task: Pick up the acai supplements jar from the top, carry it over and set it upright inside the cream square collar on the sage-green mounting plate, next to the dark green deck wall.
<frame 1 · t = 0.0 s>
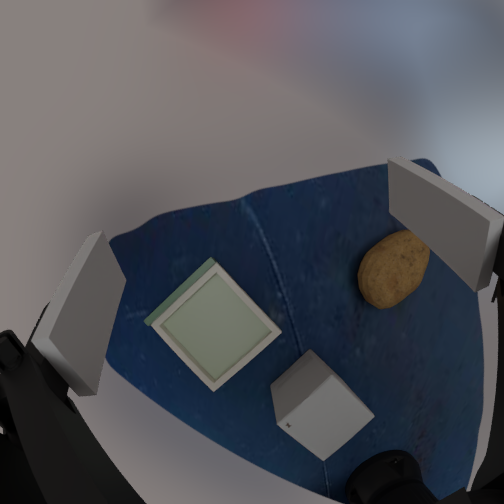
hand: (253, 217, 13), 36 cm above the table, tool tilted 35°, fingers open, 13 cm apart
potato: (384, 268, 49), on the table
supplement box: (308, 383, 48), on the table
chute collar: (216, 326, 48), on the table
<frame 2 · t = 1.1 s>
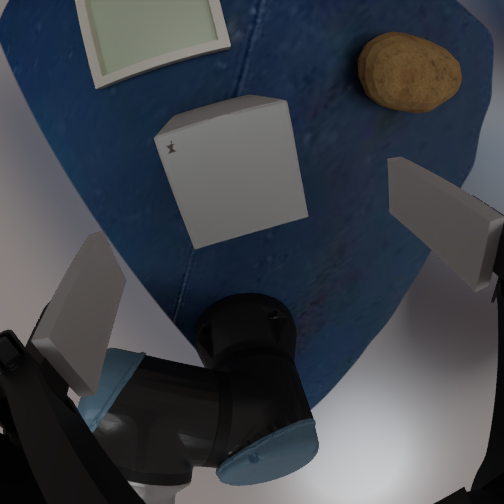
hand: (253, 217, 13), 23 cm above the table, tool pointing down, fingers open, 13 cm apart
potato: (391, 71, 31), on the table
supplement box: (222, 140, 34), on the table
chute collar: (150, 11, 25), on the table
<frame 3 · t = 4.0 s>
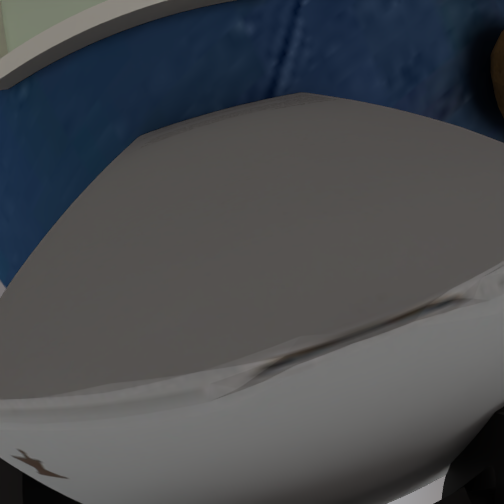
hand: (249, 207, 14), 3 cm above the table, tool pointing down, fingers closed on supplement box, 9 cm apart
supplement box: (242, 188, 17), on the table, touching gripper
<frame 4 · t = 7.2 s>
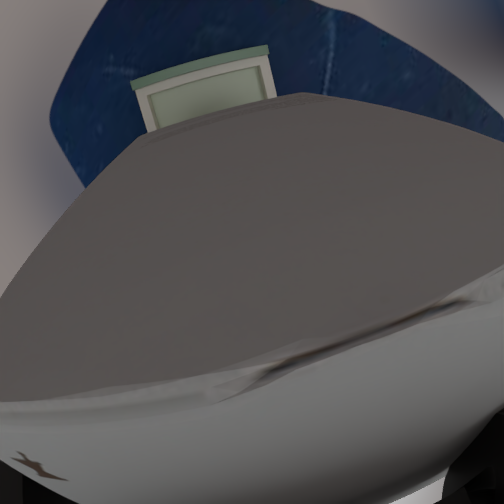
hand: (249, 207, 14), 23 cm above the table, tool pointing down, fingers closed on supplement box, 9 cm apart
supplement box: (243, 188, 17), point 20 cm above the table, touching gripper
chute collar: (216, 128, 34), on the table
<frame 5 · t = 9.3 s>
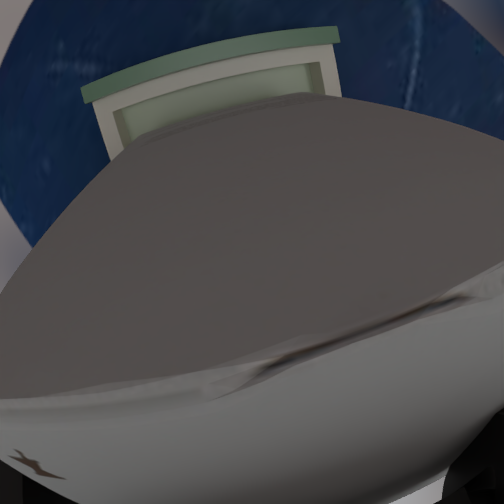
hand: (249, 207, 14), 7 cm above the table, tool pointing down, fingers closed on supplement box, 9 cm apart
supplement box: (242, 187, 17), point 5 cm above the table, touching gripper
chute collar: (235, 166, 21), on the table
when the fingers open (5 cm above the table, at t = 10.7 s): supplement box drops 1 cm, resting on chute collar.
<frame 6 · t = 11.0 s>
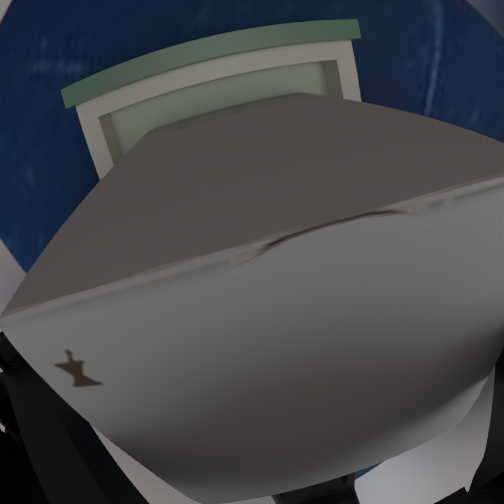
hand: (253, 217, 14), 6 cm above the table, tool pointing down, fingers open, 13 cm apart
supplement box: (244, 179, 18), point 1 cm above the table, touching chute collar
chute collar: (239, 177, 19), on the table
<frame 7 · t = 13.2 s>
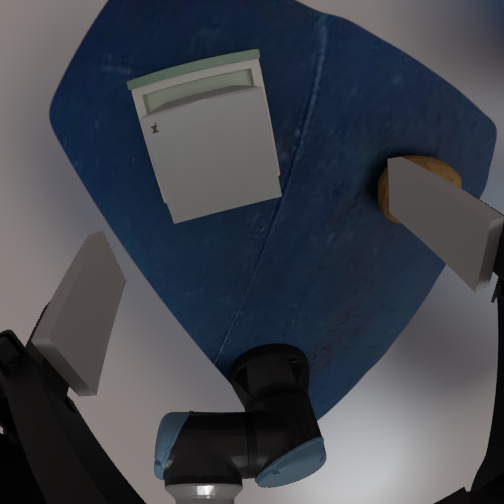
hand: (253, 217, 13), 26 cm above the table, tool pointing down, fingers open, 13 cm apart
potato: (403, 178, 42), on the table
supplement box: (210, 128, 35), point 1 cm above the table, touching chute collar
chute collar: (207, 127, 35), on the table
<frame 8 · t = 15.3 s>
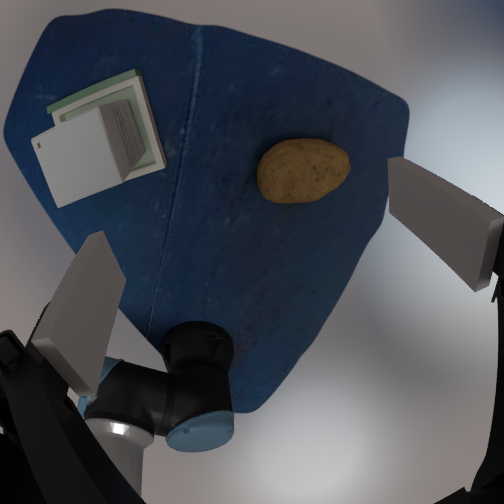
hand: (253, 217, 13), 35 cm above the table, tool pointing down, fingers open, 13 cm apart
potato: (295, 162, 48), on the table
supplement box: (111, 135, 41), point 1 cm above the table, touching chute collar
chute collar: (110, 135, 41), on the table
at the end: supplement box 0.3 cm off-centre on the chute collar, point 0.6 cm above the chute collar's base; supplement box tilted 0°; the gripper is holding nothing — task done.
